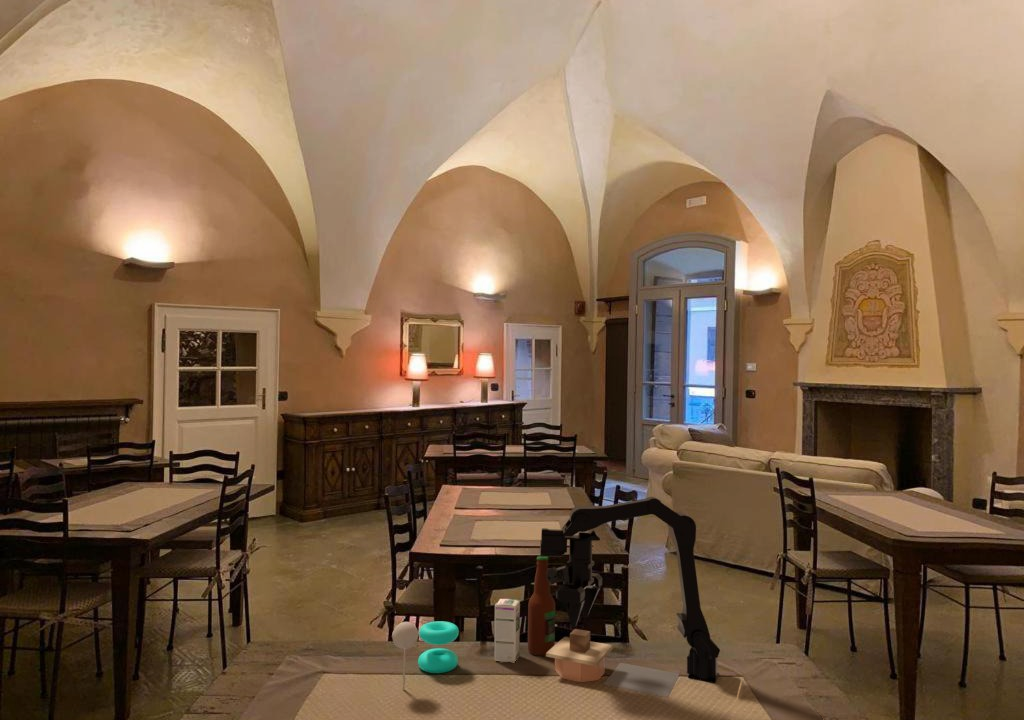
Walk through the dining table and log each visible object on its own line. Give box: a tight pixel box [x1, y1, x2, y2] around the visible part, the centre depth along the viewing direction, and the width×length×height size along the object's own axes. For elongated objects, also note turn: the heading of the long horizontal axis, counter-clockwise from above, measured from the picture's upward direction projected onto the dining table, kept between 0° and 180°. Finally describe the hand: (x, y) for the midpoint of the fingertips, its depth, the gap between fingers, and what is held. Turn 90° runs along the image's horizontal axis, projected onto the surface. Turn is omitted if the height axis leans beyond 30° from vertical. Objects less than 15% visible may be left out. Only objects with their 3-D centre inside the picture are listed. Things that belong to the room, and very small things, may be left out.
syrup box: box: [493, 598, 521, 662], centre depth 165 cm, size 6×6×14 cm
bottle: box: [527, 555, 556, 657], centre depth 172 cm, size 7×7×25 cm
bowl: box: [554, 657, 606, 683], centre depth 157 cm, size 11×11×5 cm
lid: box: [545, 628, 614, 666], centre depth 157 cm, size 13×13×5 cm
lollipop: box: [391, 621, 420, 691], centre depth 146 cm, size 6×6×15 cm
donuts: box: [417, 620, 460, 674], centre depth 159 cm, size 10×10×10 cm
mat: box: [603, 662, 680, 699], centre depth 153 cm, size 15×15×1 cm
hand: (579, 621), depth 157 cm, fingers open, 9 cm apart
